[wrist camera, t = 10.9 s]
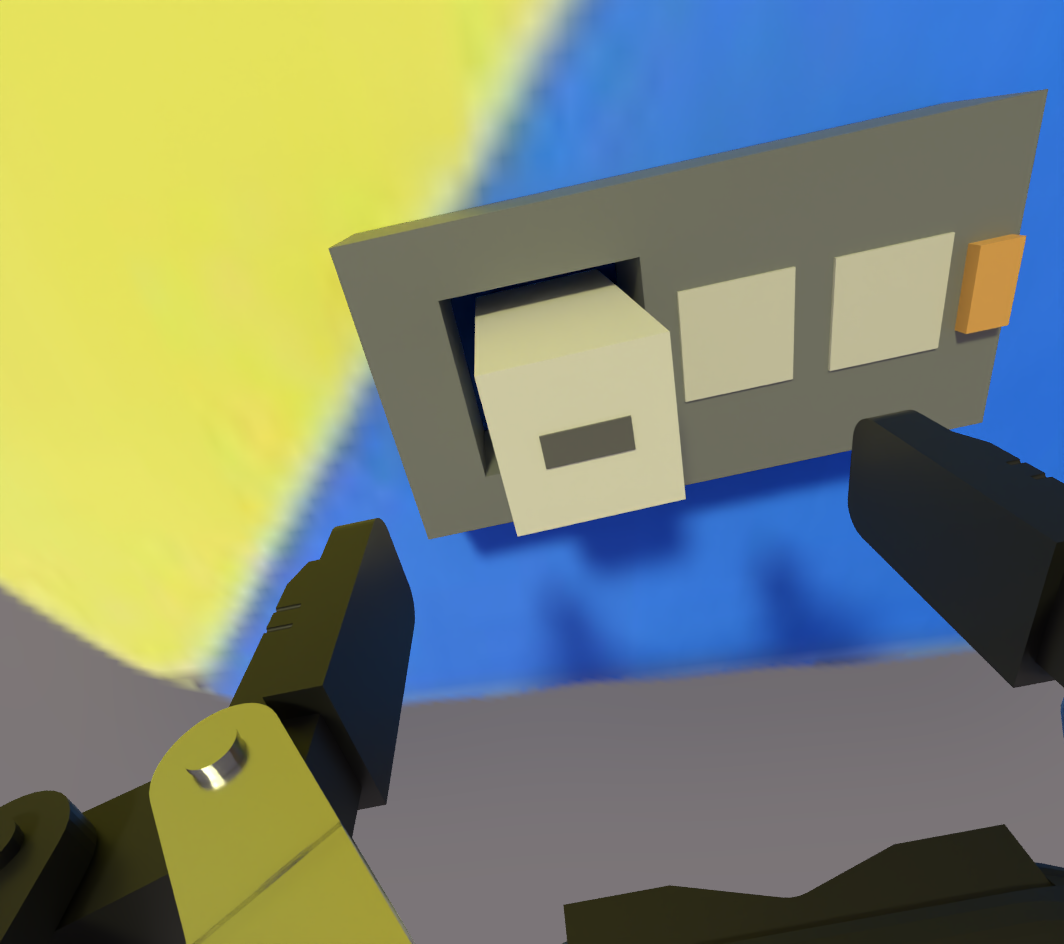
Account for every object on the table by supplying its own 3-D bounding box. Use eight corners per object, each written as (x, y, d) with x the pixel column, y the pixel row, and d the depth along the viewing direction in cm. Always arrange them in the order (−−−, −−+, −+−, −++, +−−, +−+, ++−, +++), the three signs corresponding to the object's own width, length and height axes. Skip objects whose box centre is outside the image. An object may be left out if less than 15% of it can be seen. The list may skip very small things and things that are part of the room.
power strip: (945, 103, 17) (1065, 86, 14) (909, 385, 21) (993, 427, 18) (354, 233, 17) (324, 250, 14) (435, 486, 22) (427, 547, 18)
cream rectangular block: (596, 268, 19) (670, 331, 11) (613, 384, 20) (686, 500, 13) (475, 297, 19) (474, 377, 12) (503, 409, 21) (517, 537, 13)
